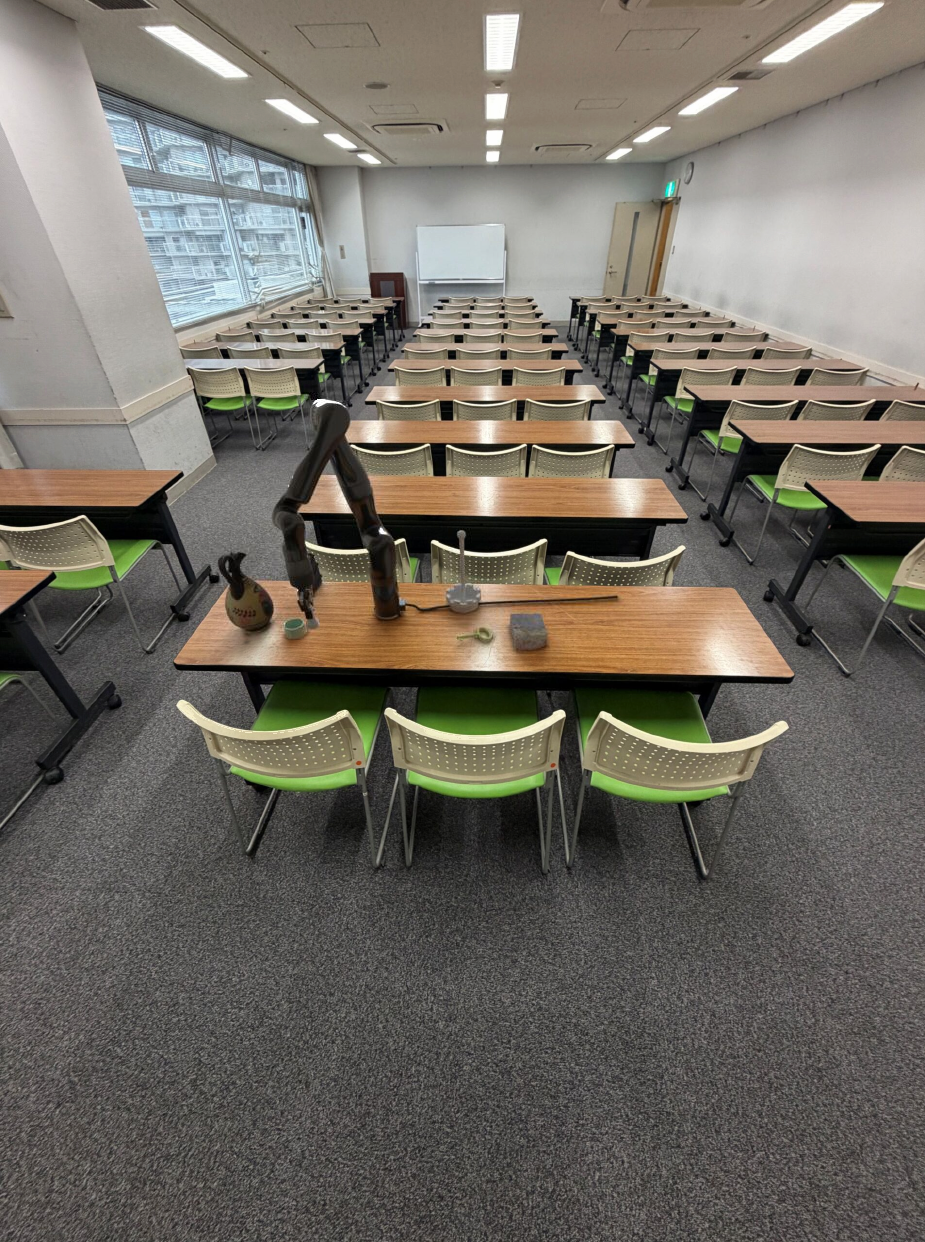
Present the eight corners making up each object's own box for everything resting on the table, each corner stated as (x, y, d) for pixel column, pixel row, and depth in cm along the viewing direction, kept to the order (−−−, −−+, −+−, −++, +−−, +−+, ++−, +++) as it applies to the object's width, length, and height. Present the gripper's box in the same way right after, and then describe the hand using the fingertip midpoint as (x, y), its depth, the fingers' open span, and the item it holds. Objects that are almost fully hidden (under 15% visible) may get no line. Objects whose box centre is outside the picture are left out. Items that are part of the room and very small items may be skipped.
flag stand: (481, 614, 186) (480, 539, 168) (445, 614, 186) (441, 539, 168) (480, 594, 196) (480, 522, 179) (447, 595, 197) (443, 523, 179)
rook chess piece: (322, 624, 172) (318, 604, 167) (314, 631, 169) (309, 611, 164) (312, 621, 173) (307, 601, 169) (303, 628, 170) (298, 608, 166)
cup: (307, 626, 182) (305, 617, 180) (304, 638, 177) (302, 628, 174) (288, 628, 182) (285, 618, 179) (284, 640, 176) (281, 630, 174)
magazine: (325, 574, 209) (313, 552, 196) (317, 602, 202) (304, 581, 189) (316, 574, 209) (303, 552, 196) (308, 601, 203) (294, 581, 190)
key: (455, 641, 173) (455, 636, 172) (484, 628, 179) (484, 623, 177) (468, 651, 168) (467, 646, 167) (497, 638, 174) (497, 633, 173)
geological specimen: (540, 611, 177) (549, 635, 165) (539, 625, 181) (547, 650, 168) (510, 611, 177) (516, 636, 164) (509, 626, 180) (515, 651, 168)
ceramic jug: (248, 612, 191) (223, 539, 174) (285, 615, 188) (265, 542, 171) (221, 639, 177) (192, 563, 160) (262, 644, 175) (237, 567, 157)
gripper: (308, 580, 153) (319, 627, 163) (315, 558, 164) (324, 602, 174) (283, 582, 152) (295, 628, 163) (291, 559, 164) (302, 604, 174)
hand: (310, 615), depth 168 cm, fingers closed on rook chess piece, 3 cm apart
